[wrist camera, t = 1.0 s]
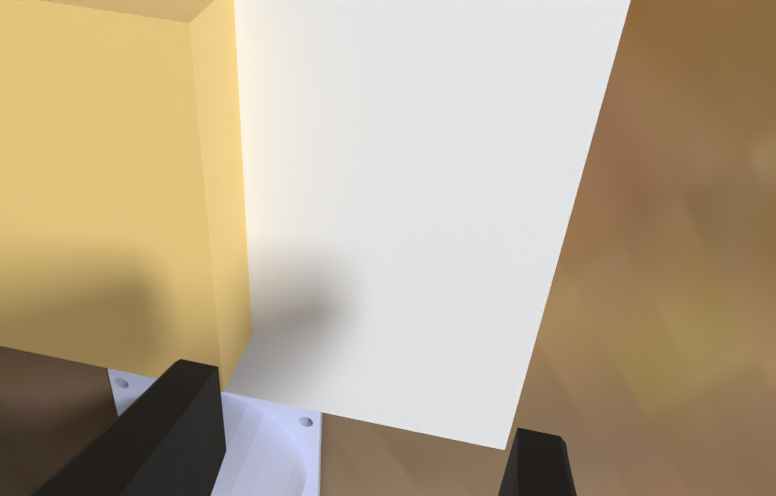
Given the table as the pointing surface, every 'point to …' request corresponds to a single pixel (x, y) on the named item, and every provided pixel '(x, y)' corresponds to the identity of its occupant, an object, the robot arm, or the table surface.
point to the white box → (410, 198)
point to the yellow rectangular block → (122, 184)
